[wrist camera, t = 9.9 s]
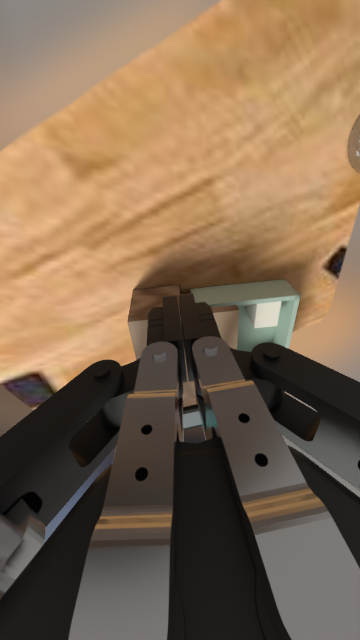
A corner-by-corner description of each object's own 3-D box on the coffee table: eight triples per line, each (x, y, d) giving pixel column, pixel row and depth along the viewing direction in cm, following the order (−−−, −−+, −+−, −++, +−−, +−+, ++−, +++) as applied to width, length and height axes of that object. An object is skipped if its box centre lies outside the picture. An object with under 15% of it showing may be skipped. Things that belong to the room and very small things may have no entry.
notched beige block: (223, 280, 44) (239, 310, 36) (222, 356, 54) (233, 393, 46) (133, 289, 44) (127, 322, 35) (148, 364, 54) (146, 402, 45)
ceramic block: (245, 312, 47) (266, 310, 47) (254, 328, 43) (277, 325, 43) (247, 289, 44) (270, 286, 44) (257, 303, 40) (281, 300, 40)
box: (284, 278, 45) (300, 294, 40) (273, 347, 54) (284, 366, 49) (190, 288, 44) (194, 306, 39) (194, 355, 53) (198, 376, 48)
